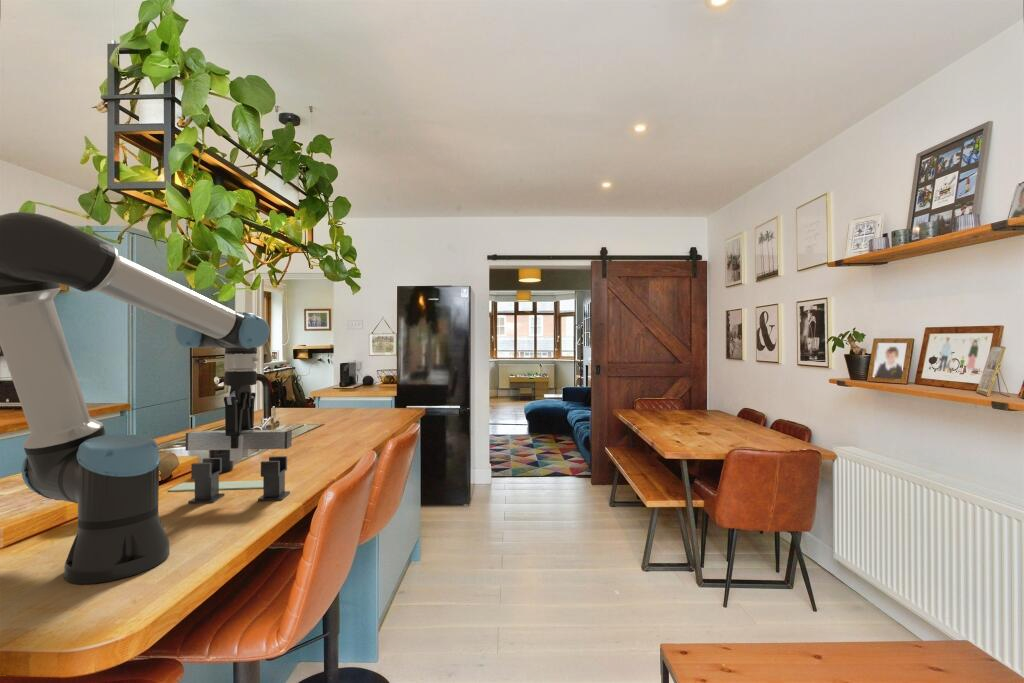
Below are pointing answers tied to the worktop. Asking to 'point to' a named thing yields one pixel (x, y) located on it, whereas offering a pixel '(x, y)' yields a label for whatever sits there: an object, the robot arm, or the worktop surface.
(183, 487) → the mat
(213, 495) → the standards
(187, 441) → the rail
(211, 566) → the worktop surface
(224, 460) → the supplement bottle
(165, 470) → the bread roll
